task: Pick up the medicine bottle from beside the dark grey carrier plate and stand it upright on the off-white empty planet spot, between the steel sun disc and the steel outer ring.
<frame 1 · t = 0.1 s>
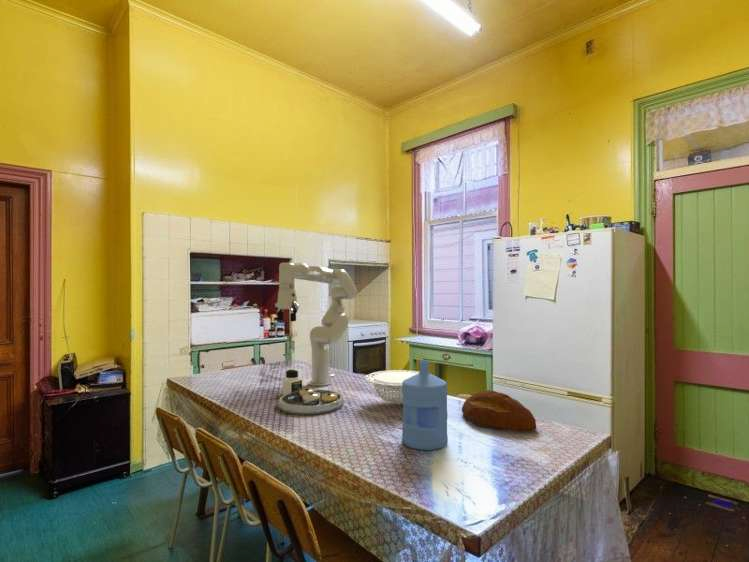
hand: (286, 320, 212), 37 cm above the table, tool pointing down, fingers open, 9 cm apart
carrier: (311, 405, 189), on the table
colander: (399, 405, 189), on the table
bread: (496, 423, 164), on the table
medicine bottle: (292, 394, 209), on the table
water jug: (424, 443, 144), on the table
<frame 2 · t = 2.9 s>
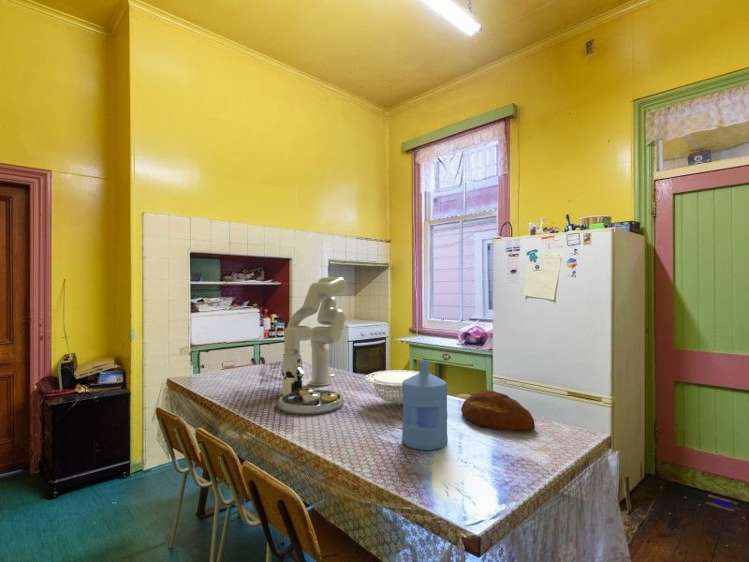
hand: (292, 387, 209), 3 cm above the table, tool pointing down, fingers closed on medicine bottle, 7 cm apart
medicine bottle: (292, 394, 209), on the table, touching gripper
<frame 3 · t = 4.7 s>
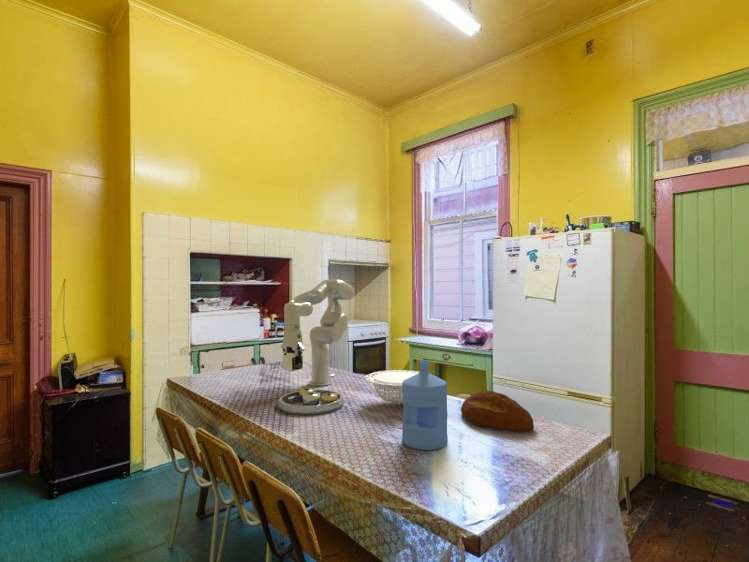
hand: (292, 362, 210), 16 cm above the table, tool pointing down, fingers closed on medicine bottle, 7 cm apart
medicine bottle: (292, 369, 210), point 12 cm above the table, touching gripper
everything else where it was.
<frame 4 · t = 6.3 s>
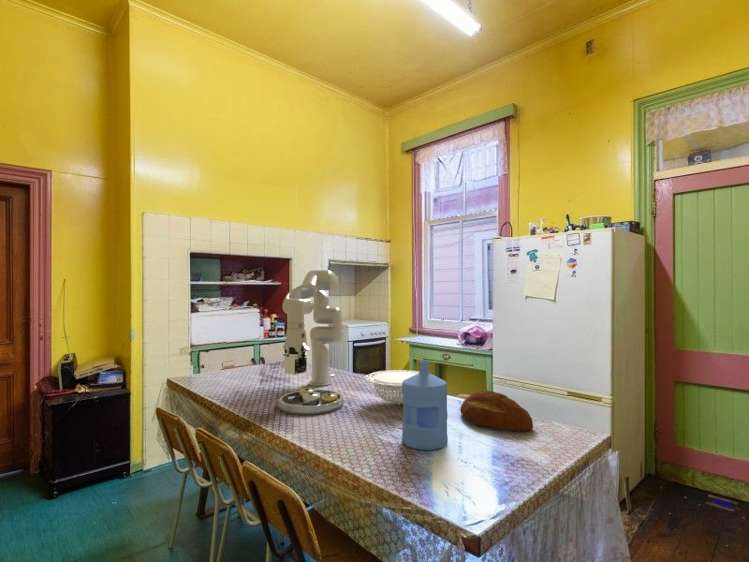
hand: (295, 365, 188), 18 cm above the table, tool pointing down, fingers closed on medicine bottle, 7 cm apart
medicine bottle: (295, 373, 188), point 15 cm above the table, touching gripper
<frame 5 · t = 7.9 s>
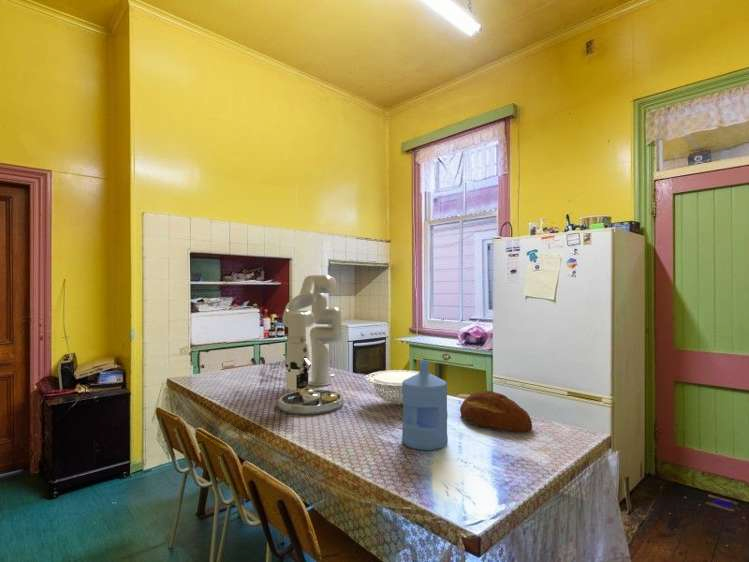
hand: (297, 380, 183), 13 cm above the table, tool pointing down, fingers closed on medicine bottle, 7 cm apart
medicine bottle: (297, 388, 182), point 9 cm above the table, touching gripper
when the fingers open (6 cm above the table, at t = 9.6 s): medicine bottle drops 1 cm, resting on carrier.
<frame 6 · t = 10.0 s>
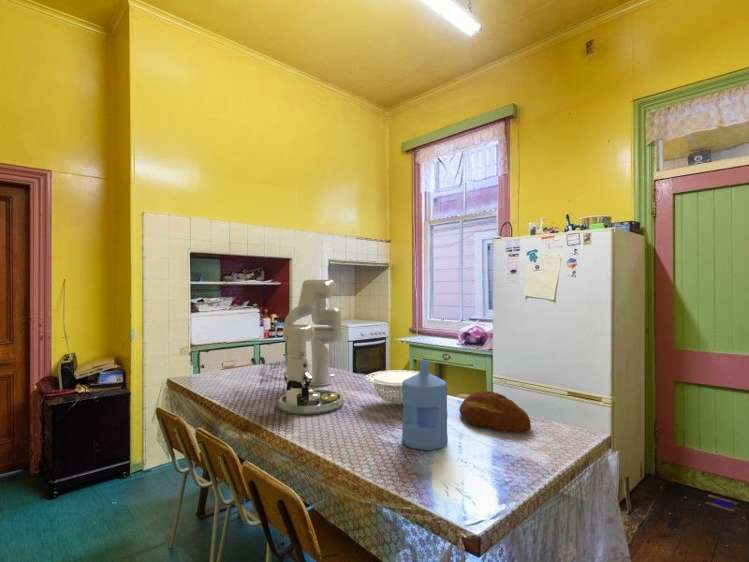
hand: (297, 394, 183), 7 cm above the table, tool pointing down, fingers open, 9 cm apart
medicine bottle: (297, 407, 183), point 1 cm above the table, touching carrier
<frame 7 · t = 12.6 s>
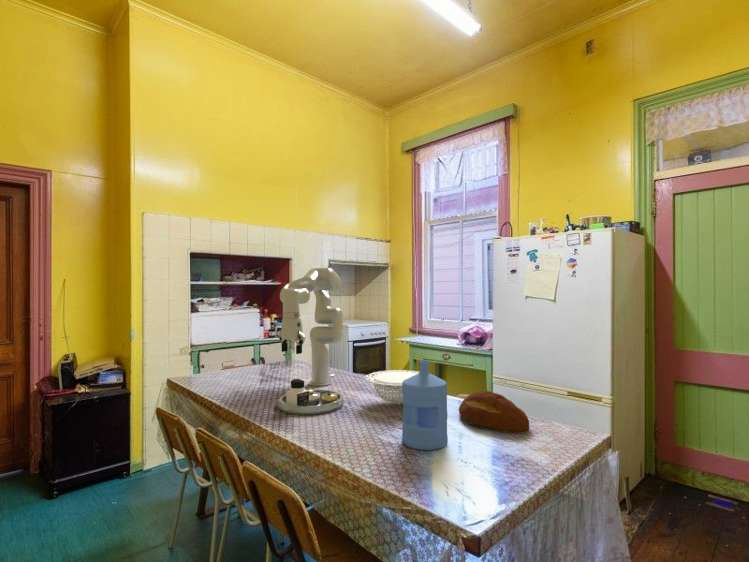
hand: (291, 352, 193), 23 cm above the table, tool pointing down, fingers open, 9 cm apart
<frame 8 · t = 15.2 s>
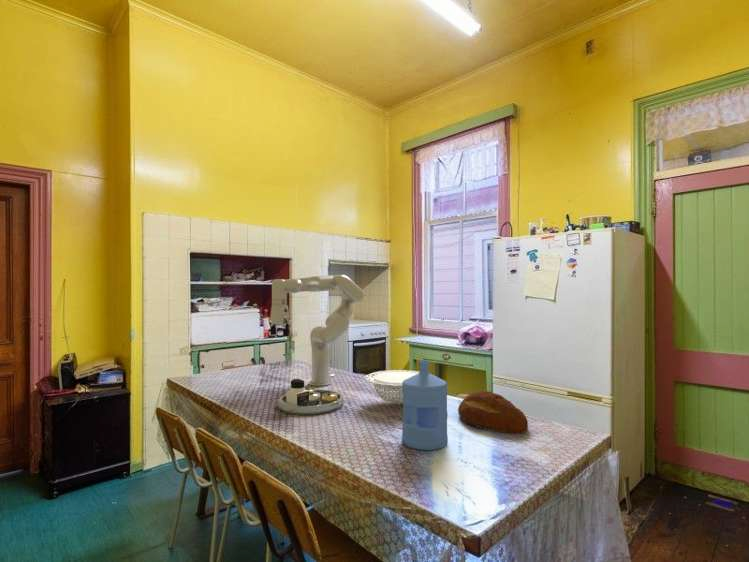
hand: (279, 335, 218), 28 cm above the table, tool pointing down, fingers open, 9 cm apart
at the end: medicine bottle 0.3 cm from the target spot on the carrier, point 1.0 cm above the carrier's base; medicine bottle tilted 0°; the gripper is holding nothing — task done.
